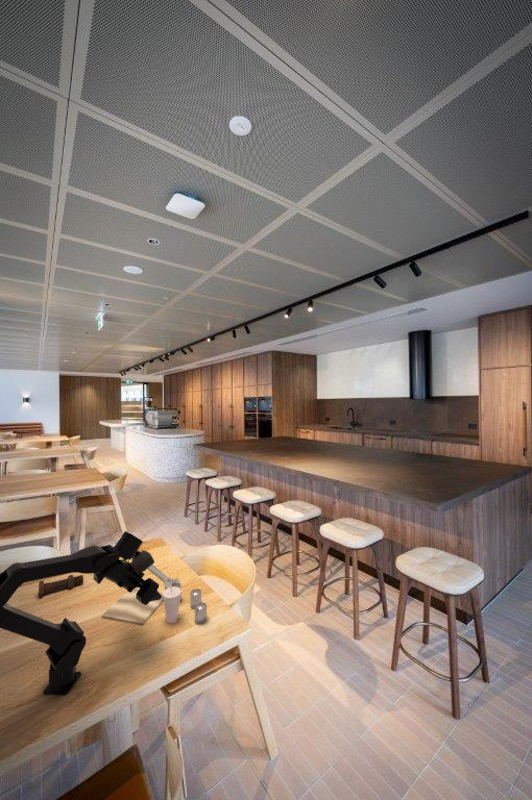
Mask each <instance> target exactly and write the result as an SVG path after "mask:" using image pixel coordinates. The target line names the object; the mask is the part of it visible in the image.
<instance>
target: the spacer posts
mask: <svg viewBox="0 0 532 800" xmlns="http://www.w3.org/2000/svg"><path fill="white" fill-rule="evenodd" d="M172 587H178V588H180V589H181V590H182V586H181V584H180V585H173V586H172ZM189 595H190V596H189V597H190V598H189V599H190V603H189V605H190V609H191V610H194V623H195V624H196V625H203V624H205V623H206V622H207V620H208V619H207V617H208V616H207V615H208V613H207V611H208V606H207V605H208V604H207V603H205V602H202V590H201V589H200V588H194V589H192V590H191V591H190V594H189ZM181 602H182V595H181V596H180V603H181Z"/></svg>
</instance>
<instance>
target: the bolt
mask: <svg viewBox="0 0 532 800" xmlns="http://www.w3.org/2000/svg"><path fill="white" fill-rule="evenodd" d="M84 579H85V578H84V574H80V575H77V576H76V575H75V576H74V575H73V574H69V575H68V576H67V578H63V579H60V580H54V581H51V582H45V580H44V579H42V580H40V581H39V582H38V596H37V597H38V598H39V597H40V598H43V597H44V594H46V593H49V592H53V591H57V590H61V589H64V588H67V589H68V590H70V589H73V588H74V586H76V585H81V584H84ZM44 582H45V583H44ZM42 596H43V597H42Z"/></svg>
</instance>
